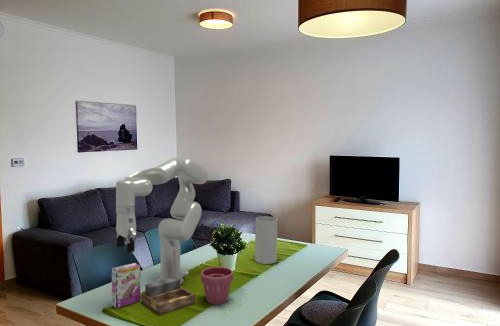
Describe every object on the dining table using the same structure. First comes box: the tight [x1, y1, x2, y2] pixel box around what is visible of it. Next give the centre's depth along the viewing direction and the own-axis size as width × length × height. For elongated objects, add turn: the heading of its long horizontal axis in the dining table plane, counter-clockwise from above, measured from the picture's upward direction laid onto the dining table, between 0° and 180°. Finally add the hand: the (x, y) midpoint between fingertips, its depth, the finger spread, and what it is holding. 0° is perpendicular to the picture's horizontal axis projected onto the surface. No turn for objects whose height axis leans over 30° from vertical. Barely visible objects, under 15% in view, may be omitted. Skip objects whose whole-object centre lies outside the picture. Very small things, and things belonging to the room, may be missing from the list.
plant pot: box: [200, 266, 234, 305], centre depth 174 cm, size 14×14×13 cm
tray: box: [140, 277, 196, 316], centre depth 170 cm, size 17×16×8 cm
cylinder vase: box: [254, 215, 278, 265], centre depth 227 cm, size 12×12×25 cm
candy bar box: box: [111, 262, 141, 309], centre depth 168 cm, size 11×5×16 cm, turn 134°
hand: (125, 249), depth 167 cm, fingers open, 9 cm apart
